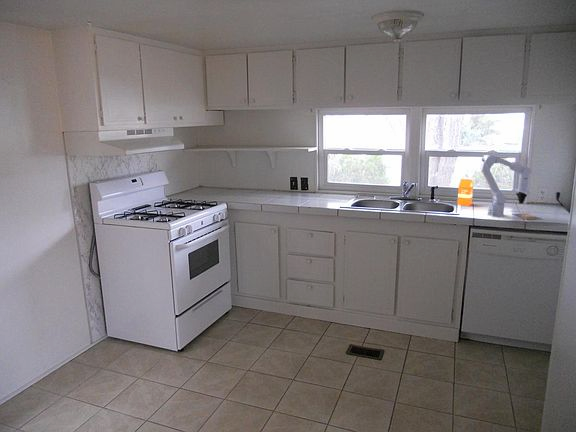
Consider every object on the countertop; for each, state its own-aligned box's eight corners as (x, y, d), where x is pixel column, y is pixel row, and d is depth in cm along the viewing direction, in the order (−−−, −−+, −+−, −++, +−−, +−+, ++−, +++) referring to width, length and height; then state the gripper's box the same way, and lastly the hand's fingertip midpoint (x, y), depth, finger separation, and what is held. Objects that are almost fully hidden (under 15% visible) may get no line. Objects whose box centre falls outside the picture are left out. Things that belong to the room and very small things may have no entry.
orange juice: (460, 202, 353) (462, 178, 348) (471, 204, 347) (473, 179, 343) (457, 204, 347) (459, 179, 342) (468, 205, 341) (470, 180, 337)
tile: (520, 217, 300) (525, 219, 294) (520, 214, 300) (526, 216, 294) (528, 217, 301) (534, 219, 295) (529, 214, 300) (534, 216, 294)
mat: (525, 220, 294) (525, 219, 294) (511, 214, 310) (511, 214, 310) (542, 219, 295) (542, 219, 295) (527, 214, 311) (527, 213, 311)
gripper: (535, 185, 294) (532, 205, 297) (522, 182, 308) (520, 201, 311) (525, 185, 294) (523, 205, 297) (512, 182, 308) (510, 201, 311)
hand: (520, 203), depth 304 cm, fingers closed
